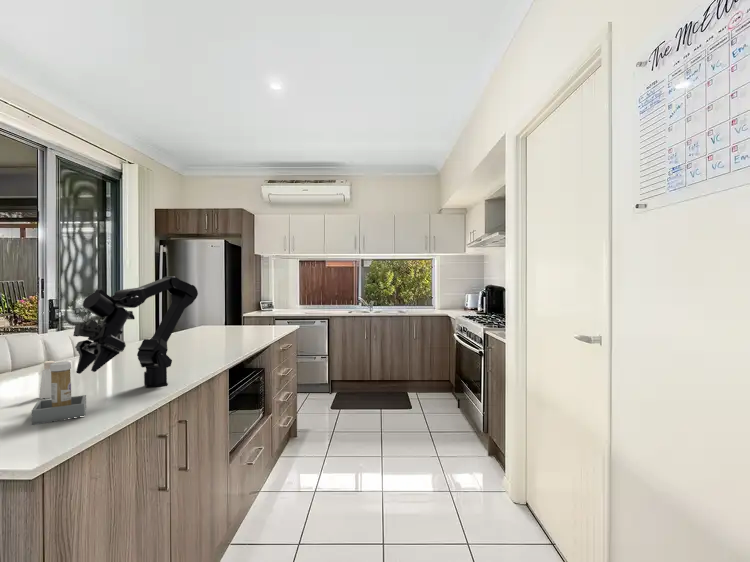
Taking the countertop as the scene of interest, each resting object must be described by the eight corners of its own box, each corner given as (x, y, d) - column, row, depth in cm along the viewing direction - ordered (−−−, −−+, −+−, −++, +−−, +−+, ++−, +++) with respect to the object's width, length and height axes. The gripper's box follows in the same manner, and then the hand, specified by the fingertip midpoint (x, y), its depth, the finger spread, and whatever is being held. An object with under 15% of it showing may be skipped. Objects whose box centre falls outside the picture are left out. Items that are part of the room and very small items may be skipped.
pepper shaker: (57, 393, 142) (56, 359, 142) (62, 396, 139) (62, 361, 139) (36, 397, 138) (36, 361, 138) (41, 399, 135) (41, 363, 135)
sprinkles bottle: (71, 413, 118) (70, 362, 118) (50, 416, 115) (49, 364, 115) (72, 409, 121) (71, 360, 121) (51, 412, 119) (50, 362, 119)
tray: (86, 407, 126) (86, 394, 126) (84, 417, 116) (84, 403, 116) (38, 413, 120) (37, 400, 120) (31, 424, 110) (31, 410, 110)
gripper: (73, 316, 137) (43, 362, 128) (102, 308, 126) (72, 357, 118) (106, 333, 144) (80, 378, 135) (137, 326, 134) (111, 374, 125)
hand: (85, 372), depth 128 cm, fingers open, 9 cm apart
